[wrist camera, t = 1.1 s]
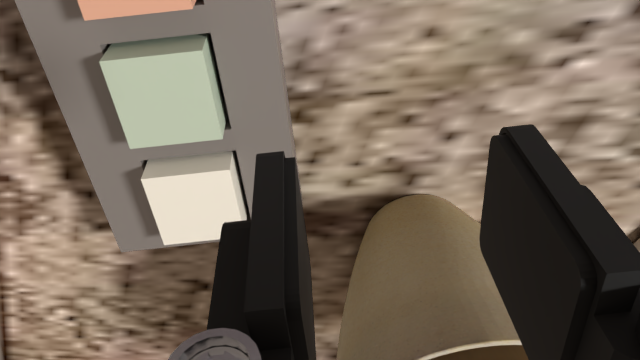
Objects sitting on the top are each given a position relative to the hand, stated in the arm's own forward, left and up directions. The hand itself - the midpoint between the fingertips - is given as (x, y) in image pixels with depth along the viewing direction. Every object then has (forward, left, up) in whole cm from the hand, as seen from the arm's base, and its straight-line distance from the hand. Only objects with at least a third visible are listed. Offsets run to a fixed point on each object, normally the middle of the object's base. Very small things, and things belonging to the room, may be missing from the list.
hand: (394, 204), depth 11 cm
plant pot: (-20, -5, -21) cm, 30 cm away
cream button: (-12, +9, -19) cm, 24 cm away
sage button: (-5, +9, -19) cm, 21 cm away
